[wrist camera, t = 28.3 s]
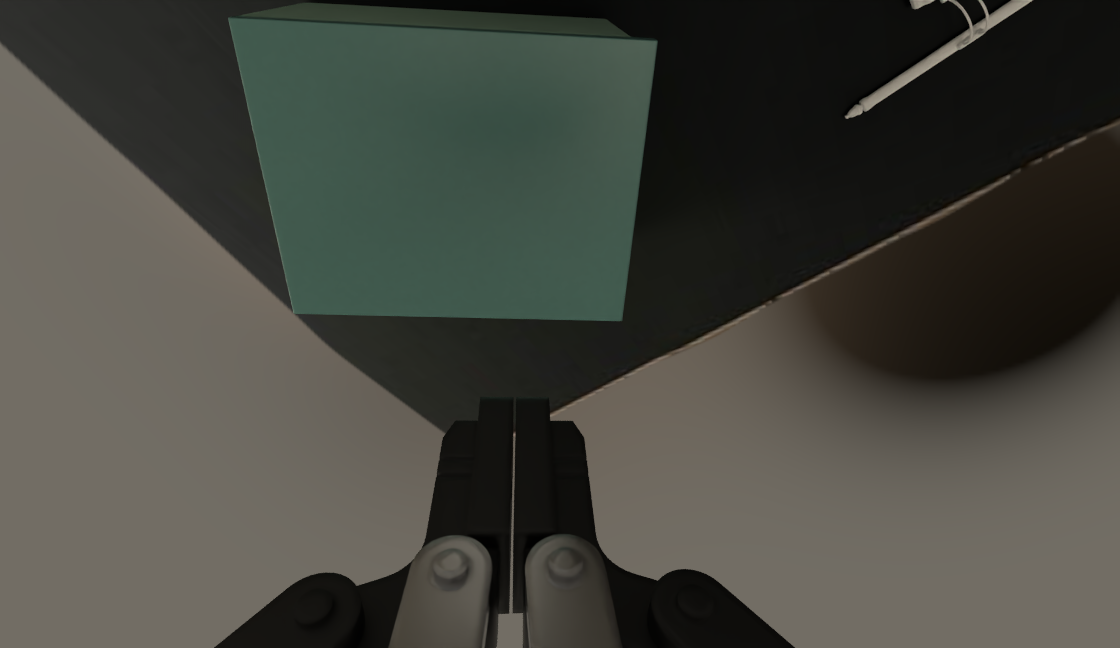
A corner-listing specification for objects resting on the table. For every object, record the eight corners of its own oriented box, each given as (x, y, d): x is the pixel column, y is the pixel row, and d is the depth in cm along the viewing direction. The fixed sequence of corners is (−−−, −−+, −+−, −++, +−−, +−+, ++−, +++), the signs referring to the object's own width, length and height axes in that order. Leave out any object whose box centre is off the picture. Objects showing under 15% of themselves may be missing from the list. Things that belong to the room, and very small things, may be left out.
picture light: (844, 121, 34) (862, 130, 33) (815, 57, 32) (832, 63, 31) (1095, -45, 30) (1130, -45, 29) (1079, -130, 29) (1117, -135, 27)
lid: (654, 38, 24) (658, 40, 23) (620, 313, 31) (622, 321, 30) (236, 15, 23) (227, 17, 22) (298, 305, 30) (293, 313, 29)
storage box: (606, 18, 31) (631, 36, 24) (587, 245, 38) (602, 310, 31) (304, 2, 30) (237, 15, 23) (341, 239, 37) (298, 305, 30)
